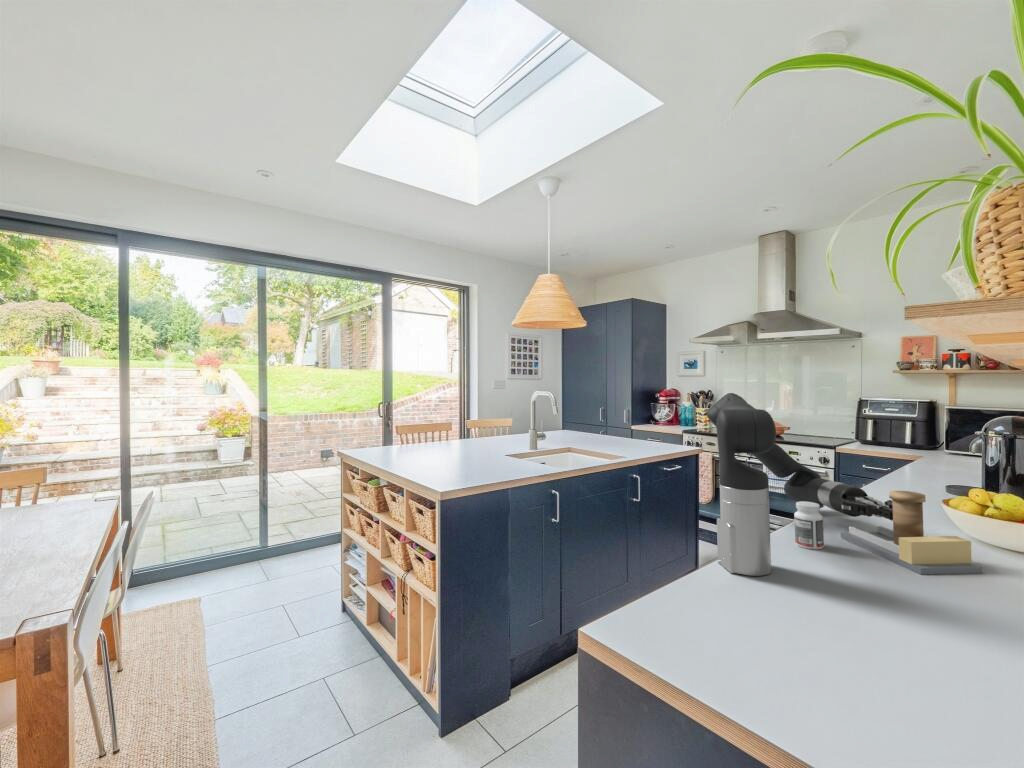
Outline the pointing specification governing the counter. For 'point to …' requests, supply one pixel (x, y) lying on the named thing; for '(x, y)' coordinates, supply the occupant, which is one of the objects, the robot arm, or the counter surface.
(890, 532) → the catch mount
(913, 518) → the knob
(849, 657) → the counter surface
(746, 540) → the robot arm
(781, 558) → the counter surface
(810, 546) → the pill bottle
